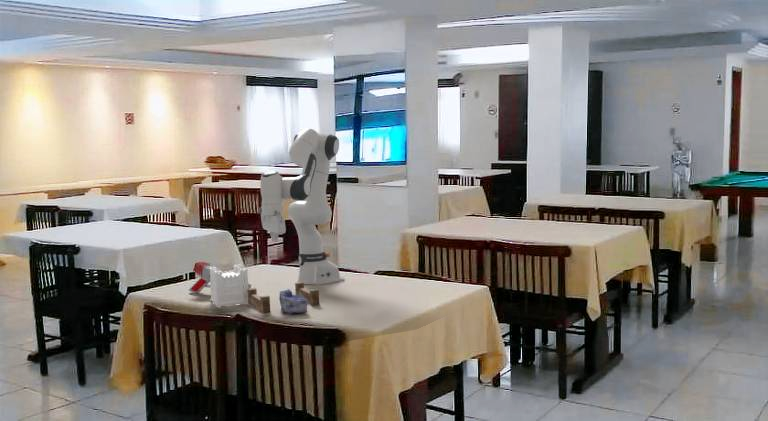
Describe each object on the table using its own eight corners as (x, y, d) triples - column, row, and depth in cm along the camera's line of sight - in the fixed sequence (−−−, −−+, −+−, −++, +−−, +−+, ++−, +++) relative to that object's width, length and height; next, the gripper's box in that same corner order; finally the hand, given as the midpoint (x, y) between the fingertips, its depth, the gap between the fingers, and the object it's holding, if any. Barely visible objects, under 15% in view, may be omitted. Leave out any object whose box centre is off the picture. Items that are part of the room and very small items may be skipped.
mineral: (274, 289, 317) (298, 284, 321) (276, 311, 320) (299, 306, 324) (286, 299, 305) (310, 295, 309) (288, 322, 307) (312, 317, 311)
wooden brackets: (302, 296, 344) (302, 282, 343) (319, 304, 326) (319, 289, 325) (248, 303, 333) (247, 288, 332) (262, 313, 315) (262, 297, 315)
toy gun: (235, 316, 348) (244, 286, 345) (185, 291, 357) (193, 261, 353) (243, 313, 355) (252, 283, 351) (194, 288, 363) (202, 259, 359)
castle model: (216, 307, 328) (214, 272, 326) (210, 301, 341) (208, 267, 339) (250, 303, 333) (248, 269, 332) (242, 297, 346) (240, 264, 345)
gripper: (288, 211, 323) (290, 244, 325) (271, 206, 341) (274, 238, 343) (273, 213, 320) (276, 246, 322) (257, 208, 338) (260, 239, 340)
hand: (274, 242), depth 332 cm, fingers closed
